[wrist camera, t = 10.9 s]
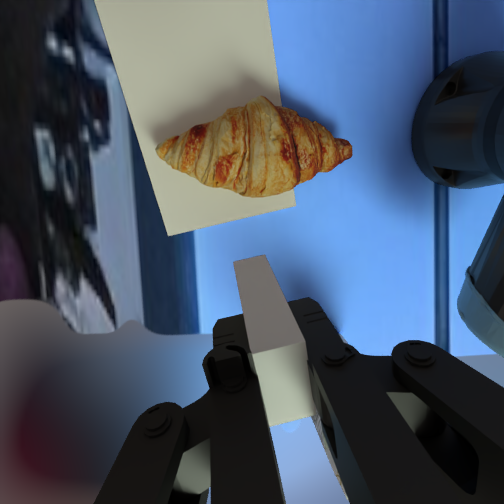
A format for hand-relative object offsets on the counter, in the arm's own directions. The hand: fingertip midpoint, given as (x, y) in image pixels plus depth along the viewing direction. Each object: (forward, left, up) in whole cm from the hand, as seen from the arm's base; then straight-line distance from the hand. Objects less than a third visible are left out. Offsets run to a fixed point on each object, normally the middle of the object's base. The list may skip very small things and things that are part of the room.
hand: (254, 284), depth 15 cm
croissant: (-5, -4, -24) cm, 25 cm away
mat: (-1, -8, -24) cm, 26 cm away
